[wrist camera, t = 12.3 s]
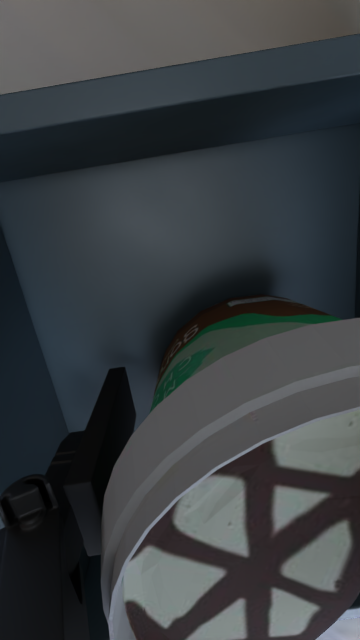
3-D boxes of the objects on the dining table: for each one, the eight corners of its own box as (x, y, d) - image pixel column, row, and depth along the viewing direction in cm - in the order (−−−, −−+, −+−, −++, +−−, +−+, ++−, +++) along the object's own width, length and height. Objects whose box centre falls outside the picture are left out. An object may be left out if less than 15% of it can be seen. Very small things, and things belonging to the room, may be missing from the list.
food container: (166, 233, 13) (153, 269, 4) (297, 267, 14) (562, 369, 4) (116, 454, 17) (45, 750, 8) (221, 474, 18) (277, 770, 8)
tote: (372, 102, 13) (558, -3, 7) (354, 486, 20) (438, 608, 14) (-29, 168, 13) (-204, 127, 7) (91, 522, 20) (56, 658, 14)
